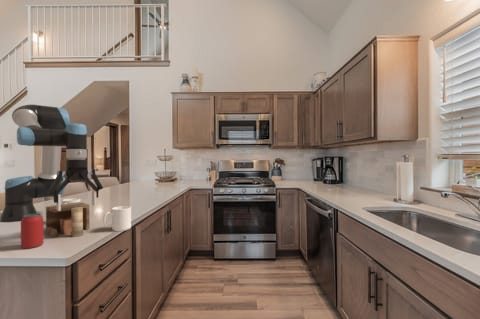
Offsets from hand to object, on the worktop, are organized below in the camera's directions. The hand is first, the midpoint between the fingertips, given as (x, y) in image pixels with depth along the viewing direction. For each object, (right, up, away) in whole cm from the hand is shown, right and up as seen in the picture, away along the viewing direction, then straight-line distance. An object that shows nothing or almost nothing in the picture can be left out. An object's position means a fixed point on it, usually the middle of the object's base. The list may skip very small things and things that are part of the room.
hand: (77, 207), depth 106 cm
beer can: (-9, -13, -12) cm, 20 cm away
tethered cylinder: (-4, -12, +3) cm, 13 cm away
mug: (-18, -12, +21) cm, 30 cm away
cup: (+13, -12, +9) cm, 20 cm away
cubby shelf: (-9, -12, +7) cm, 17 cm away
